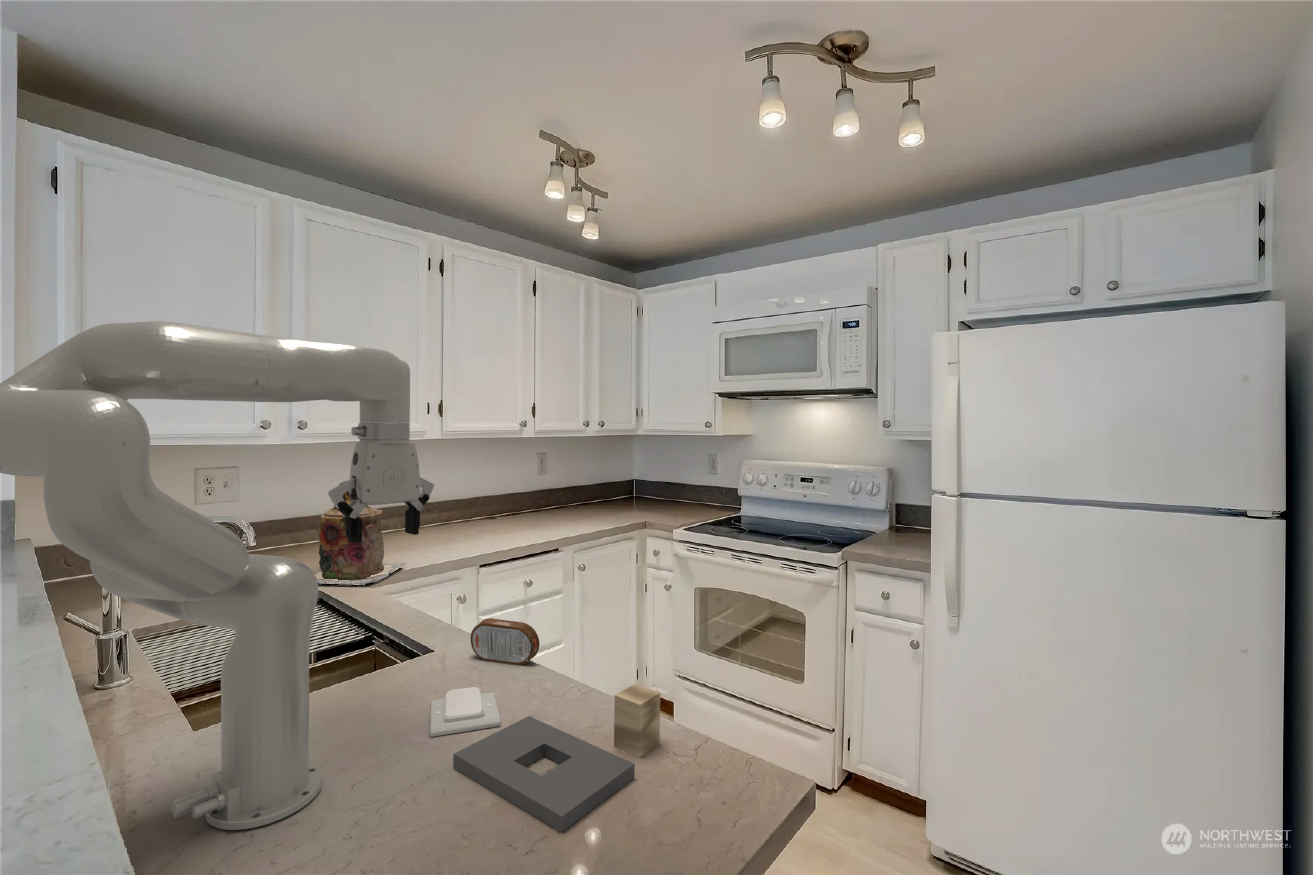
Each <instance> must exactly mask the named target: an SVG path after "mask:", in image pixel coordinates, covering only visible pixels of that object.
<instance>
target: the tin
mask: <svg viewBox="0 0 1313 875" xmlns="http://www.w3.org/2000/svg"><path fill="white" fill-rule="evenodd" d="M470 645H471V649H472V650H473V653H475V655H476V656H477V657H478V658H480V659H482V660H484V661H487V660H489V662H494V661H495V663H502V664H508V665H516V666H521V665H522V666H523V665H525V664H527V663H528V662H529V661H527V660H530V661H531V660H532V659H534V658H535V657H536V655H537V654H538V652H539V649H540V645H541V644H540V638H539V635H538V633H537V631H536V630H535V628H533V627H532V625H530V624H528V623H527V622H523V621H514V620H507V619H506V620H505V619H499V618H493V617H492V618H491V617H490V618H489V617H488V618H485V619H483V620H481V621H480V622H479V623H478V624H476V625H475V626H474V627H473V629H472V630H471V632H470ZM514 655H515V656H514ZM521 658H524V659H521Z"/></svg>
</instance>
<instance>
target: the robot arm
mask: <svg viewBox="0 0 1313 875" xmlns="http://www.w3.org/2000/svg"><path fill="white" fill-rule="evenodd" d="M156 399H157V400H171V401H172V400H173V401H174V400H175V401H177V400H179V401H209V402H210V401H212V402H213V401H214V402H217V401H218V402H219V401H220V402H248V403H250V402H253V403H301V402H310V401H311V402H313V401H331V402H359V422H358V424H357V426H353V427H351V435H352V436H357V437H358V439H359V442H355V445H354V448H353V453H352V458H351V462H350V463H351V464H350V469H349V470H350V472H349V479H348V480H345V481H346V482H344V481H343V482H344V483H342V482H341V483H342V484H340V483H339V484H340V485H339V484H338V485H337V486H335V487H333V488H332V489H330V490H328V496H329V499H330V500H331V502H332V503H333V505H334V507H335V508H336V509H337V510H339V511H340V512H341V513H342V514H343V516H345V517H346V536H347V538H348V541H349V542H353V543H361V542H362V519H361V518H359V514H360V513H361V512H362V511H363V509H364V508H365V507H366V505H368V506H380V505H390V504H400V503H404V504H405V506H406V507H407V508H408V509H405V511H404V532H405V533H406V534H409V535H415V536H416V535H419V534H420V530H419V529H420V527H421V511H423V510H424V507H425V505H426V503H427V502H428V501H429V500H430V496H431V494H432V492H433V490H434V487H435V484H434V483H432V482H431V481H430V480H429V481H428V480H427V479H424V478H423V477H421V474H420V465H419V464H420V463H419V456H418V451H417V447H416V444H415V442H411V438H410V437H411V436H410V435H411V431H410V430H411V427H410V426H411V424H410V422H411V368H410V366H409V364H408V363H407V362H406V361H404V360H402V359H401V360H400V358H399V357H398V356H397V355H395V354H394V353H391V352H390V351H388V350H383V349H378V348H373V347H365V346H364V347H363V346H357V345H350V344H339V343H331V342H330V343H329V342H321V341H312V340H304V339H299V338H290V337H279V336H271V335H270V336H269V335H263V334H256V333H251V332H250V333H249V332H241V331H237V330H236V331H234V330H228V329H222V328H221V329H220V328H214V327H209V326H201V325H196V324H194V325H193V324H188V323H181V322H175V321H174V322H173V321H172V322H171V321H157V320H156V321H154V320H153V321H135V322H133V321H132V322H114V323H113V322H112V323H103V324H102V323H101V324H99V325H96V326H92V327H90V328H88V329H85V330H83V331H81V332H80V333H77V334H76V335H74V336H72V337H70V338H69V339H66V341H64V342H62V343H61V344H59V345H57V346H56V347H54V348H53V349H51V350H50V351H48V352H47V353H45V354H44V355H41V357H38V359H36V360H35V361H33V362H31V363H29V364H28V365H27V366H25V367H24V368H22V369H20V370H18V372H16V373H14V374H13V375H11V376H9V377H7V378H6V379H5V380H3V381H2V382H0V474H3V475H4V474H5V475H10V476H16V477H17V476H18V477H39V478H40V477H41V478H43V502H44V508H45V514H46V518H47V521H48V523H49V524H48V525H49V527H50V529H51V531H52V533H53V535H54V536H55V539H56V540H58V542H59V543H61V544H62V545H63V546H64V547H65V548H67V549H69V550H70V551H72V552H73V553H75V554H77V555H79V556H80V557H83V558H84V559H86V560H88V561H89V564H90V565H89V566H90V570H91V573H92V576H93V577H94V579H95V581H97V584H99V585H100V586H101V587H102V588H103V589H104V590H106V591H107V592H108V593H110V594H113V595H114V596H116V597H119V598H121V599H124V600H126V601H128V602H132V603H134V604H136V605H140V606H142V607H144V608H148V609H149V610H153V611H156V612H158V613H161V614H163V615H167V616H169V617H172V618H175V619H177V620H181V621H184V622H187V623H191V624H194V625H199V626H206V627H213V628H222V629H223V628H224V629H227V630H233V631H235V635H234V639H233V641H232V644H231V645H230V647H229V649H228V651H227V653H226V655H225V657H224V660H223V662H222V666H221V672H220V695H221V696H220V702H221V703H220V771H218V772H215V773H213V774H212V783H209V784H207V785H204V786H203V790H200V791H196V792H195V793H190V794H187V795H185V796H183V797H179V798H177V799H174V800H172V801H171V812H172V816H173V818H174V819H177V818H180V817H182V816H184V815H186V814H189V813H191V816H192V819H193V820H195V819H198V818H200V817H203V816H205V819H206V822H207V823H208V824H209V825H210V826H211V827H213V828H217V829H219V830H226V831H238V830H239V831H240V830H249V829H253V828H259V827H264V826H266V825H270V824H272V823H275V822H278V821H279V820H280V821H281V820H282V819H284V818H286V817H289V816H291V815H293V814H294V813H296V812H298V811H300V810H301V809H302V808H304V807H305V806H307V805H308V804H309V803H310V802H311V801H312V800H313V799H315V798H316V796H317V795H319V792H320V791H321V788H322V785H323V774H322V772H321V770H320V769H319V768H318V767H316V766H315V765H313V764H309V763H310V644H311V634H312V627H313V626H312V625H313V621H314V615H315V611H316V608H317V603H318V598H319V584H318V582H317V578H316V576H315V574H314V573H315V572H314V571H313V570H312V569H311V568H310V567H309V566H308V565H306V564H305V563H303V562H302V561H300V560H298V559H295V558H290V557H285V556H281V555H269V554H268V555H267V554H258V553H257V554H256V553H249V552H248V549H247V547H246V545H245V543H244V542H243V541H242V540H241V538H240V537H239V536H238V535H237V534H236V533H235V532H233V531H231V529H229V528H227V527H225V526H224V525H222V524H220V523H218V522H216V521H214V520H212V519H210V518H208V517H206V516H205V515H202V514H201V513H199V512H197V511H195V510H194V509H192V508H190V507H187V506H186V505H185V504H182V503H181V502H179V501H177V500H176V499H174V498H172V497H171V496H169V495H168V494H167V493H165V492H164V491H162V490H161V489H159V487H158V486H157V485H156V484H155V482H154V481H153V478H152V474H151V468H150V455H151V454H150V453H151V435H150V431H149V427H148V424H147V422H146V420H145V418H144V417H143V415H142V414H141V412H140V411H139V409H137V408H136V407H135V406H134V405H133V404H131V403H130V402H128V400H156ZM348 491H349V495H350V500H351V502H350V503H349V504H347V503H346V502H345V501H344V499H343V494H344V493H346V492H348Z"/></svg>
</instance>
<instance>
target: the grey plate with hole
mask: <svg viewBox="0 0 1313 875" xmlns="http://www.w3.org/2000/svg"><path fill="white" fill-rule="evenodd" d="M542 758H546V759H548V760H550V761H552V762H554V763H556V764H558V765H557V766H555V767H553V768H552V769H550V770H548V771H547V772H546V773H544V774H542V775H541V774H540V773H536V772H535V771H534V770H532V769H530V768H528V767H529V766H531V765H533V764H534V763H536V762H537V761H539V760H541V759H542ZM452 760H453V764H452V765H453V766H452V767H453V768H454V769H455V770H456V771H458V772H459V773H462V774H463V775H465V776H466V777H468V778H470V779H471V780H473V781H475V782H477V784H480V785H481V786H483V787H485V788H487V789H488V790H490V791H492V792H493V793H494V794H497V795H498V796H499V797H501V798H503V799H505V800H506V801H508V802H510V804H513V805H514V806H516V807H517V808H520V809H521V810H523V811H524V812H526V813H528V814H529V815H531V816H532V817H535V818H536V819H538V820H540V821H541V822H543V823H544V824H546V825H548V826H550V827H551V828H552V829H554V830H556V831H558V832H559V833H561V834H562V833H563V832H565V831H567V829H569V828H570V827H572V826H573V825H574V824H575V823H577V822H578V821H579V820H581V819H583V817H584V816H586V815H587V814H588V813H590V812H591V811H593V810H594V809H596V808H597V807H598V806H599V805H601V804H602V803H604V802H605V801H606V800H607V799H608V798H610V797H611V796H613V795H614V794H615V793H617V792H619V790H620V789H622V788H623V787H624V786H626V785H628V783H630V782H632V781H633V780H634V779H635V767H636V766H635V763H633V762H631V761H629V760H628V759H625V758H622V757H621V756H618V755H616V754H614V753H612V752H609V751H607V750H605V749H603V748H601V747H598V746H596V745H595V744H592V743H590V742H587V741H585V740H584V739H580V738H578V737H576V736H574V735H573V734H570V733H568V732H565V731H563V730H561V729H559V728H556V727H554V726H552V725H550V724H548V723H546V722H543V721H541V720H540V719H536V717H535V718H534V717H532V716H530V715H528V716H526V717H524V718H522V719H520V720H517V721H516V722H514V723H512V724H510V725H508V726H506V727H505V728H502V729H500V730H498V731H496V732H494V733H492V734H490V735H488V736H486V737H484V738H482V739H480V740H478V741H476V742H474V743H472V744H470V745H468V746H467V747H464V748H462V749H460V750H458V751H456V752H454V753H453V758H452Z"/></svg>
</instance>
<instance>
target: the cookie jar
mask: <svg viewBox="0 0 1313 875" xmlns="http://www.w3.org/2000/svg"><path fill="white" fill-rule="evenodd" d="M346 481H347V480H344V481H342V482H340V483H339V484H338V486H339V485H340V484H342V483H344V482H346ZM343 499H344V501H345V502H346V503H347V504H349V503H350V502H351V500H350V495H349V491H348V492H346V493H344V494H343ZM383 515H384V514H383V510H381V509H377V508H373V507H372V506H370V505H366V507H365V508H364V509H363V511H362V512H361V513H360V514H359V518H361V519H362V542H361V543H353V542H349V541H348V538H347V536H346V517H345V516H343V514H342V513H341V512H340V511H339V510H337V509H336V508H335V506H334V507H332V508H329V509H328V510H326V511H324V513H323V514H320V522H319V524H320V526H319V530H318V537H319V539H318V540H319V541H318V543H319V544H320V545H319V547H318V548H319V550H318V555H319V557H320V558H319V562H318V564H319V569H320V570H317V572H322V577H323V578H324V579H338V581H332V580H324V579H317V582H318V583H319V584H318V585H321V584H327V583H328V584H329V583H331V584H332V583H334V584H359V585H363V586H365V585H366V584H370V583H378V582H380V581H382V580H384V579H385V578H387V577H389V576H390V575H389V574H390V573H391V572H393V571H394V570H395V569H396V568H399V567H401V566H403V565H404V566H405V565H406V562H405V561H404V562H397V563H396V562H394V563H393V564H392V563H387V564H388V565H393V566H392V567H391V568H393V569H391V570H390V571H388V573H387V574H384V575H382V576H378V577H371V578H367V577H370V576H371V575H375V574H378V573H380V572H382V571H383V570H384V566H383V564H384V563H383V560H384V558H385V548H384V547H385V545H384V537H383V531H382V530H383V529H382V526H381V519H382V517H383ZM404 566H403V567H404ZM339 580H341V581H339ZM342 580H349V581H342Z"/></svg>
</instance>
